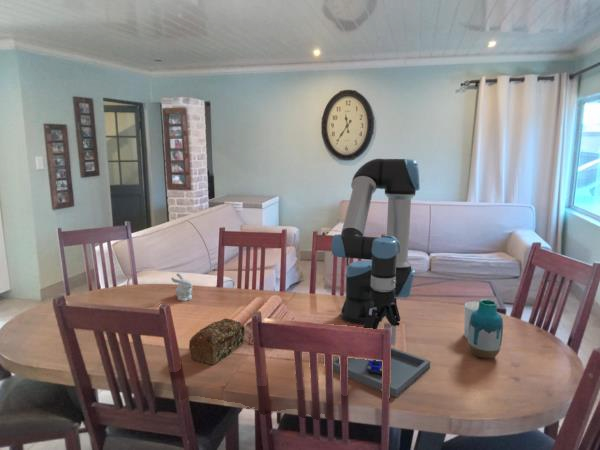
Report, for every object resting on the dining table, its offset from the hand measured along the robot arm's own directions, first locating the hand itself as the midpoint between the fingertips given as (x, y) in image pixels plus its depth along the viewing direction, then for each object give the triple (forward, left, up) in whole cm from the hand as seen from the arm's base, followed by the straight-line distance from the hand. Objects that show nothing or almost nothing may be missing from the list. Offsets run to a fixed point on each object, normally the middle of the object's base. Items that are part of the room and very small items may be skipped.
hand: (380, 351), depth 142 cm
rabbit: (-100, -4, -6) cm, 100 cm away
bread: (-48, -27, -6) cm, 55 cm away
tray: (0, 0, -6) cm, 6 cm away
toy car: (0, 0, -5) cm, 5 cm away
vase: (+22, +31, -6) cm, 38 cm away
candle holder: (+15, +44, -6) cm, 47 cm away
